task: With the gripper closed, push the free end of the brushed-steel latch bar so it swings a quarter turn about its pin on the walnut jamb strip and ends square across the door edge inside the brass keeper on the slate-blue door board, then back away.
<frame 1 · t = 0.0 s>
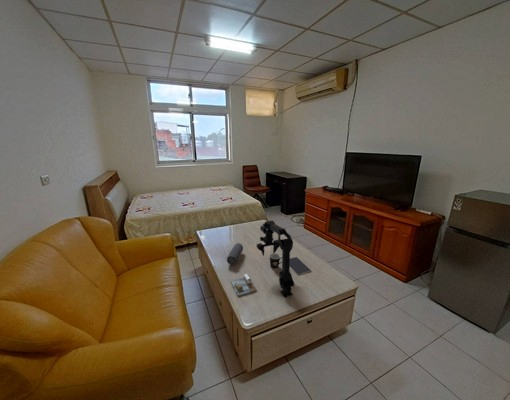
hand: (268, 254, 169), 15 cm above the table, fingers open, 9 cm apart
door panel: (243, 286, 155), on the table
coffee mug: (276, 267, 178), on the table
notebook: (296, 266, 180), on the table
latch bar: (247, 278, 158), point 3 cm above the table, hinge at 0.0°
bluetooth speaker: (235, 259, 190), on the table
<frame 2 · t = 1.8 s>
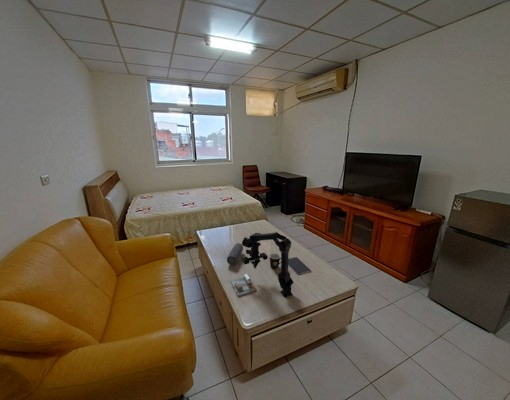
hand: (254, 268, 162), 8 cm above the table, fingers closed
nothing on the table moved.
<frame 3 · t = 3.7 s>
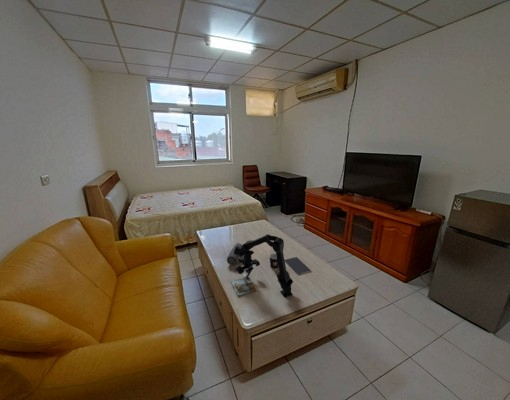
hand: (248, 275, 163), 3 cm above the table, fingers closed
latch bar: (247, 278, 158), point 3 cm above the table, hinge at 2.5°, touching gripper
everything else where it was.
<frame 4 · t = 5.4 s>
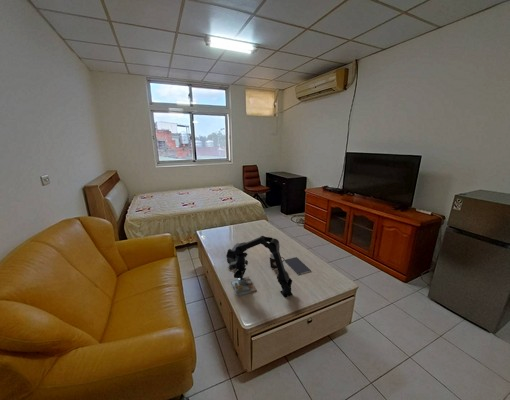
hand: (241, 278, 160), 3 cm above the table, fingers closed
latch bar: (244, 280, 157), point 3 cm above the table, hinge at 48.9°, touching gripper
everything else where it was.
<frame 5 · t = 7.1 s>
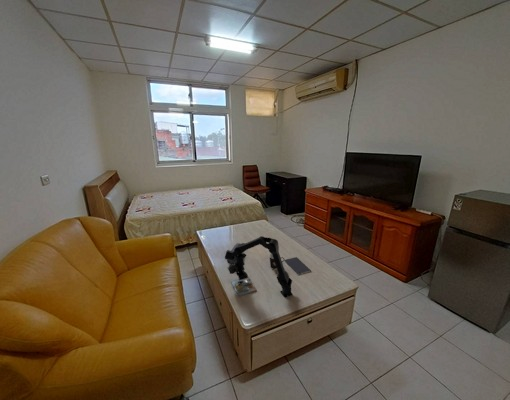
hand: (240, 279, 158), 2 cm above the table, fingers closed
latch bar: (244, 282, 155), point 3 cm above the table, hinge at 85.3°
everything else where it was.
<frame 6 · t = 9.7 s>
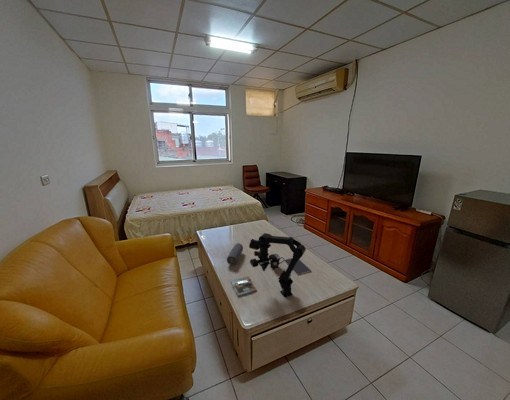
hand: (263, 270, 153), 12 cm above the table, fingers closed
nothing on the table moved.
at the end: latch bar at +85° (first picture: +0°); latch bar touching nothing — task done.
